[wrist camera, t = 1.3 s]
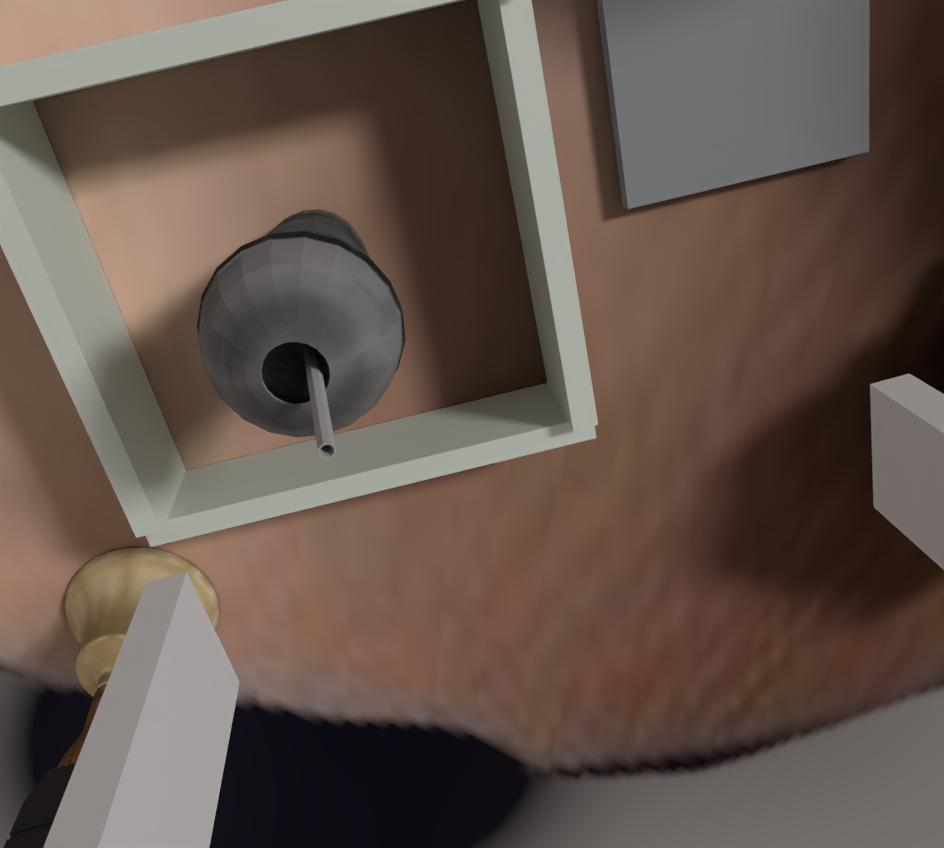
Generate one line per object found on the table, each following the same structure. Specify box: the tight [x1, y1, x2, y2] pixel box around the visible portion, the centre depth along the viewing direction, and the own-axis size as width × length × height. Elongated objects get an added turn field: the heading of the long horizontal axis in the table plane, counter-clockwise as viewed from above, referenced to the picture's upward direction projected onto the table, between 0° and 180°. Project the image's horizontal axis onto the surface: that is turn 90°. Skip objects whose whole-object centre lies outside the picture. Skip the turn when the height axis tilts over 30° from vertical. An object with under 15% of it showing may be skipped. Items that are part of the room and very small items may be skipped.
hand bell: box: [57, 547, 220, 768], centre depth 40 cm, size 8×8×16 cm
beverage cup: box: [197, 210, 405, 459], centre depth 31 cm, size 7×7×20 cm
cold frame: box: [0, 0, 598, 547], centre depth 37 cm, size 21×22×7 cm
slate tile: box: [596, 0, 870, 209], centre depth 38 cm, size 12×12×1 cm
